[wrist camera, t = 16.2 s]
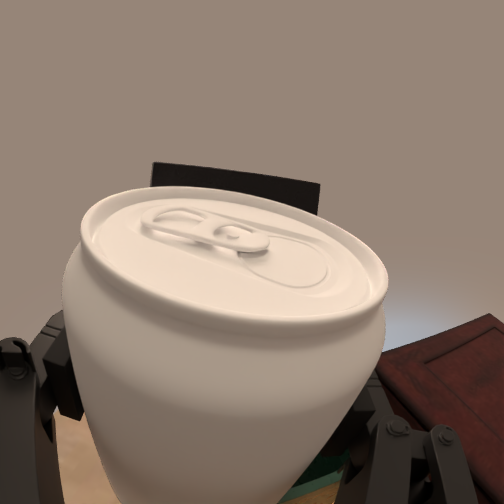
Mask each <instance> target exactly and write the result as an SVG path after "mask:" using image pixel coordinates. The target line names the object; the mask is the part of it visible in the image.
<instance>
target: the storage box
mask: <svg viewBox="0 0 504 504" xmlns="http://www.w3.org/2000/svg"><path fill="white" fill-rule="evenodd" d="M374 370H375V372H376V374H377V376H378V380H379V381H380V383H381V385H382V386H381V387H382V388H383V390H384V392H385V394H386V397H387V399H388V401H389V403H390V406H391V408H392V410H393V413H394V415H397V416H399V417H402V418H403V419H405V420H406V421H407V422H408V423H409V425H410V427H411V429H413V430H418V431H424V432H430V431H431V430H432V429H433V428H434V427H435V426H436V425H440V424H443V425H447V426H449V427H451V428H453V429H454V430H455V431H456V433H457V434H458V436H459V439H460V442H461V445H462V448H463V451H464V454H465V457H466V460H467V464H468V467H469V470H470V474H471V477H472V481H473V484H474V488H475V492H476V496H477V500H478V504H504V324H503V323H502V322H501V321H499V320H498V319H497V318H495V317H494V316H493V315H491V314H490V313H488V314H486V315H484V316H481V317H479V318H477V319H474V320H472V321H469V322H467V323H465V324H462V325H460V326H457V327H455V328H452V329H449V330H447V331H444V332H441V333H439V334H436V335H434V336H430V337H428V338H425V339H422V340H419V341H416V342H413V343H410V344H407V345H404V346H401V347H398V348H395V349H391V350H388V351H385V352H381V355H380V358H379V360H378V362H377V364H376V366H375V368H374ZM428 477H429V480H430V481H432V480H431V475H429V476H428Z"/></svg>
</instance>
